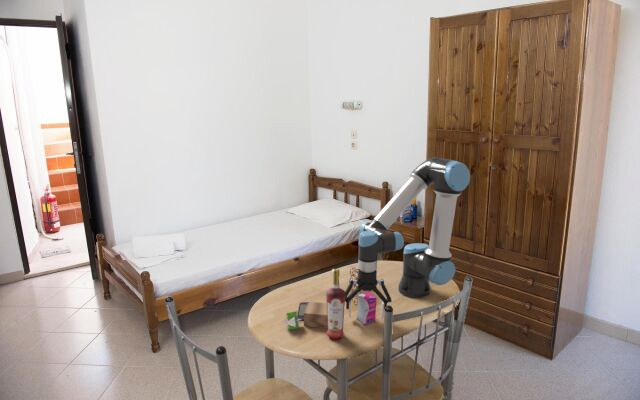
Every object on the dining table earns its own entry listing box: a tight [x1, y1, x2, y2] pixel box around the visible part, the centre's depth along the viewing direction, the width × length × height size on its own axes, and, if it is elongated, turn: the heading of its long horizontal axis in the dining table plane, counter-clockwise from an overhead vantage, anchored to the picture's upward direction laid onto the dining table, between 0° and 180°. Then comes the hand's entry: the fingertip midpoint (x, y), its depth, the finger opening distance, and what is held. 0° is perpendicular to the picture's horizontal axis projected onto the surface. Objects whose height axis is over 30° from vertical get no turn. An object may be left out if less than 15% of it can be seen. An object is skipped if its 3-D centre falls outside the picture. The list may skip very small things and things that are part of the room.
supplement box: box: [356, 291, 377, 326], centre depth 192 cm, size 6×6×12 cm
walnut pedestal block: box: [303, 301, 328, 329], centre depth 192 cm, size 10×10×6 cm
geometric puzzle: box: [283, 311, 303, 331], centre depth 187 cm, size 7×7×8 cm
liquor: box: [325, 268, 346, 340], centre depth 178 cm, size 7×7×28 cm
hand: (366, 316), depth 192 cm, fingers open, 13 cm apart
